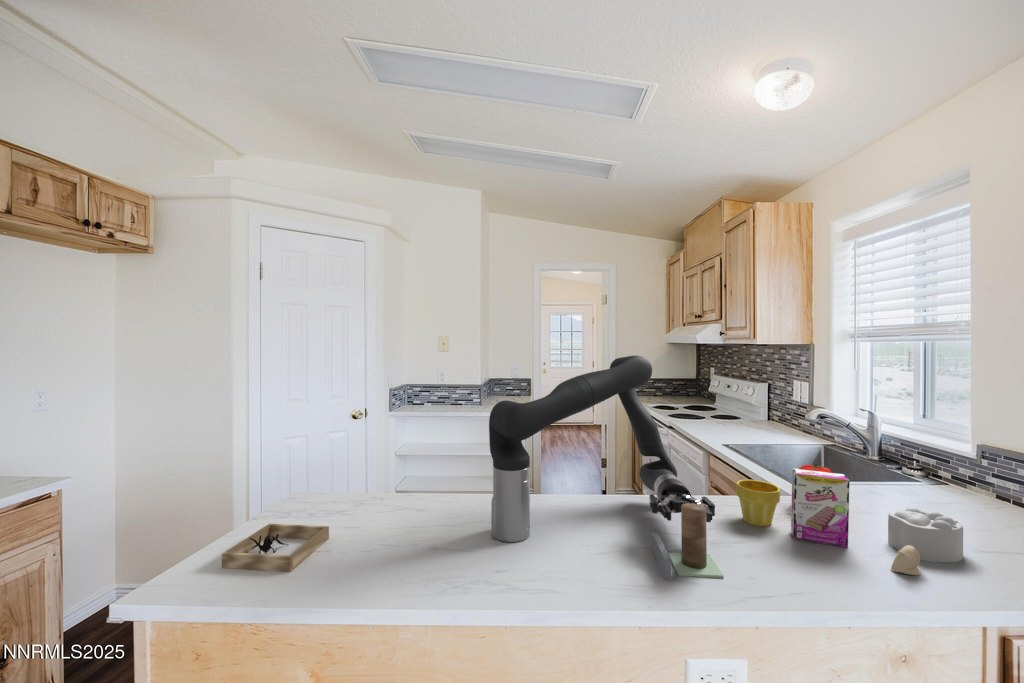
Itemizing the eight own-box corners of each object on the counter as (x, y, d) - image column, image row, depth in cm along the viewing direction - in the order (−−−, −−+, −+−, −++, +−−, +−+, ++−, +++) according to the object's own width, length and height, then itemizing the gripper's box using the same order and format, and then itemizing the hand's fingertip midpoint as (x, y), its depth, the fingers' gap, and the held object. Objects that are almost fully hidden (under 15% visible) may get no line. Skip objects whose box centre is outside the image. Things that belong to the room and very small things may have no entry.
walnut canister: (685, 568, 94) (684, 511, 94) (679, 556, 99) (678, 502, 99) (709, 569, 93) (709, 512, 93) (702, 558, 98) (702, 503, 98)
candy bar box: (793, 540, 108) (794, 473, 108) (790, 532, 113) (790, 467, 113) (849, 549, 103) (850, 479, 103) (844, 540, 108) (844, 473, 108)
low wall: (665, 579, 90) (665, 560, 90) (651, 549, 103) (651, 532, 103) (671, 580, 90) (671, 560, 90) (657, 550, 103) (657, 532, 103)
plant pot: (788, 529, 114) (789, 492, 114) (748, 530, 114) (748, 492, 114) (765, 513, 124) (765, 479, 124) (728, 514, 124) (729, 479, 124)
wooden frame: (221, 567, 95) (221, 553, 95) (269, 535, 110) (269, 523, 110) (290, 571, 93) (290, 557, 93) (328, 538, 109) (328, 526, 109)
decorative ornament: (925, 570, 94) (925, 544, 94) (911, 581, 90) (911, 555, 90) (900, 561, 98) (900, 537, 98) (886, 572, 93) (886, 547, 93)
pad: (678, 575, 92) (678, 573, 92) (667, 554, 101) (667, 552, 101) (723, 578, 91) (723, 575, 91) (709, 556, 100) (709, 554, 100)
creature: (255, 550, 105) (243, 559, 98) (256, 526, 106) (244, 533, 99) (291, 546, 107) (282, 555, 99) (292, 523, 108) (283, 529, 100)
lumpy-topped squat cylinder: (881, 540, 108) (881, 504, 108) (937, 541, 108) (937, 506, 108) (917, 561, 98) (917, 522, 98) (979, 563, 97) (980, 523, 97)
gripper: (643, 477, 116) (656, 499, 100) (700, 478, 115) (722, 501, 99) (643, 505, 116) (656, 532, 100) (699, 507, 115) (722, 535, 99)
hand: (689, 517), depth 99 cm, fingers open, 8 cm apart
